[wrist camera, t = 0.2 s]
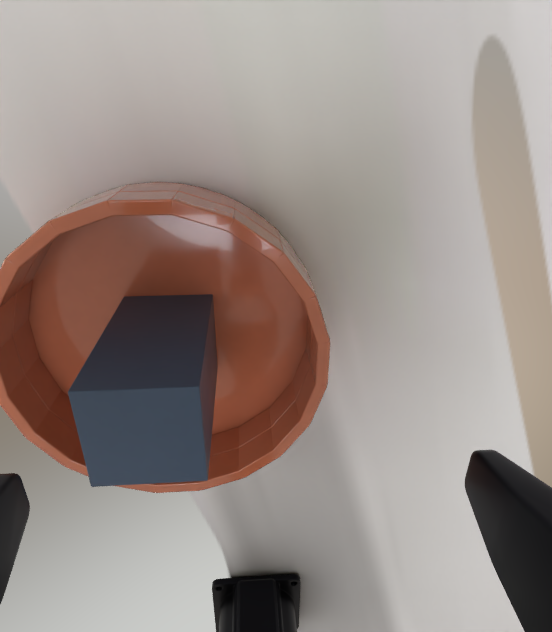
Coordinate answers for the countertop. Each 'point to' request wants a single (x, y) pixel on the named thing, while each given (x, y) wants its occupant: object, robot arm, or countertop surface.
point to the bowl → (157, 280)
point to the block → (149, 393)
